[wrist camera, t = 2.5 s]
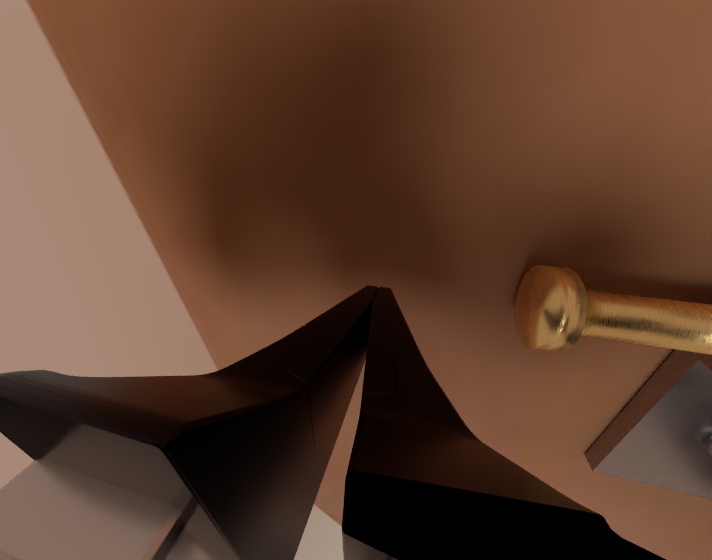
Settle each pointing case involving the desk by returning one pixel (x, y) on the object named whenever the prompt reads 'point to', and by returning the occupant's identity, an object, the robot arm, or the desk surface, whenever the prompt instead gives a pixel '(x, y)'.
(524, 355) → the desk surface
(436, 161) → the desk surface
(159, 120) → the desk surface
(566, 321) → the pin
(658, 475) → the hinge leaves
